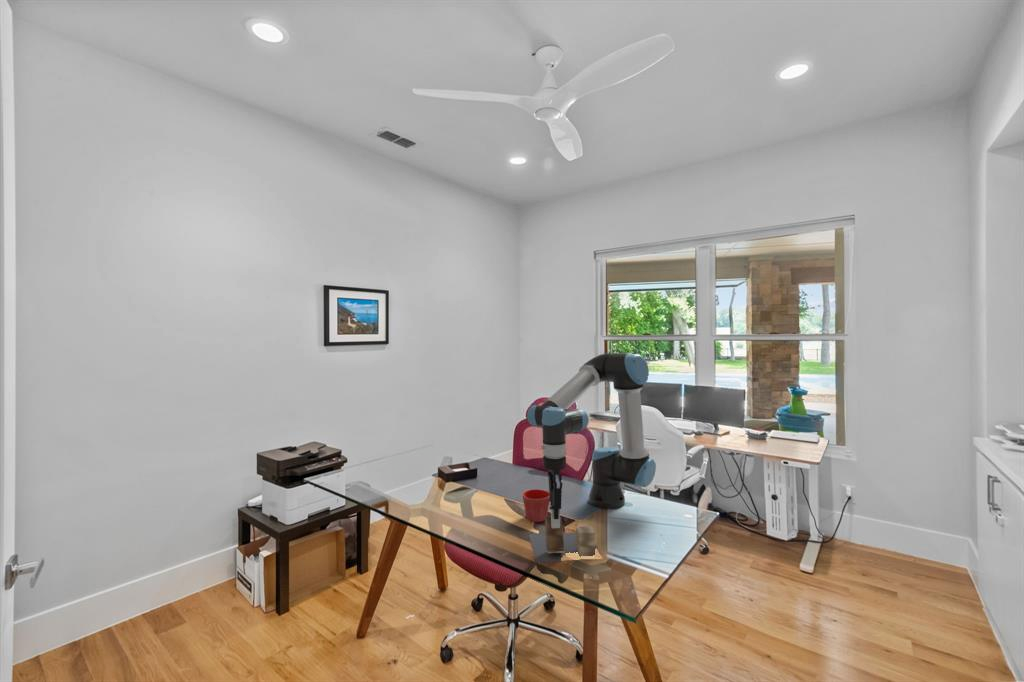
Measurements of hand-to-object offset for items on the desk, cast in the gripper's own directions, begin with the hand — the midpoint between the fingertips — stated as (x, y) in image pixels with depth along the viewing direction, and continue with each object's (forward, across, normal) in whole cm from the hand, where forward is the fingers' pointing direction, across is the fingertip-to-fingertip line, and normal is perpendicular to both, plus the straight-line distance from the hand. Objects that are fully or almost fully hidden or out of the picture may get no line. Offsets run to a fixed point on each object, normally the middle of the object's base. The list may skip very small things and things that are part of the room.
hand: (555, 527), depth 149 cm
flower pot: (+10, -31, -2) cm, 33 cm away
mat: (+10, -6, +4) cm, 12 cm away
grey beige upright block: (+9, 0, +10) cm, 14 cm away
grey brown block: (+8, 0, 0) cm, 8 cm away
